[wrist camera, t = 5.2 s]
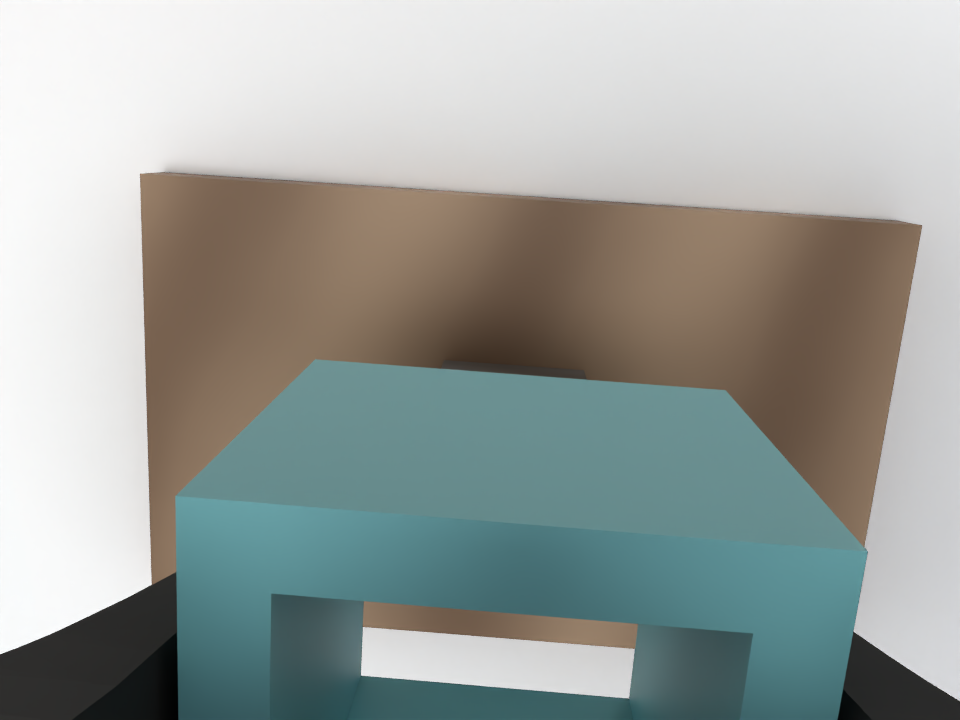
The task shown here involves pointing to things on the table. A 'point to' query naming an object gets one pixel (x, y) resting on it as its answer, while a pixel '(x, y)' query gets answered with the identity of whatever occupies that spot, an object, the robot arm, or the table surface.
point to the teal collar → (508, 547)
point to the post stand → (515, 323)
